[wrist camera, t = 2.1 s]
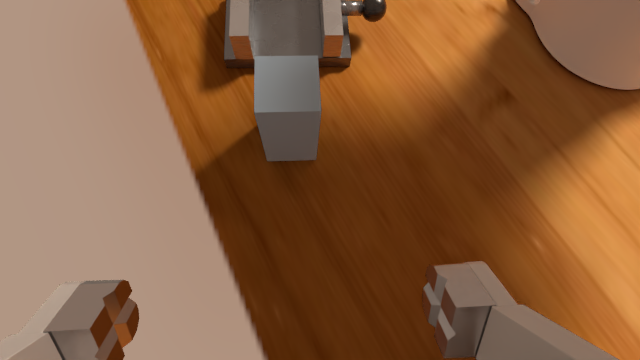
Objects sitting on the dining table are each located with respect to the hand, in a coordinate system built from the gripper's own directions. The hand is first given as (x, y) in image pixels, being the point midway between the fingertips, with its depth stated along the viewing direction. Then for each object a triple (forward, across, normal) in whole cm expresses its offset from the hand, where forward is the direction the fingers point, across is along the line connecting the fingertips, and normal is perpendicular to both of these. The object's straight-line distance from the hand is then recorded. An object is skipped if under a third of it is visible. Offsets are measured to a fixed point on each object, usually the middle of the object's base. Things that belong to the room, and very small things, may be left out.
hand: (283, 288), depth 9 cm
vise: (+28, 0, -5) cm, 28 cm away
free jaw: (+27, -6, -6) cm, 28 cm away
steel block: (+20, 0, +3) cm, 20 cm away
